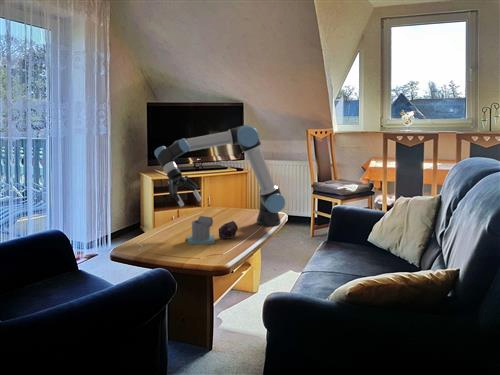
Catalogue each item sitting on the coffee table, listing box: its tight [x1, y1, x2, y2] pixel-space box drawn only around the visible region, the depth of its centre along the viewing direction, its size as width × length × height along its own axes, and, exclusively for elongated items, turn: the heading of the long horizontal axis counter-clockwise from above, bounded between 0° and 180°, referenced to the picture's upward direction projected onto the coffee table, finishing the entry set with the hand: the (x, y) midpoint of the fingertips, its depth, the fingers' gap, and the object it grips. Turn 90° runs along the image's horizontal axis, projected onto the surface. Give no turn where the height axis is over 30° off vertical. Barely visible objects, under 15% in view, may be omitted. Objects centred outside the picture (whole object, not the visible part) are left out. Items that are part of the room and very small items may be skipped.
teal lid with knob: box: [187, 234, 215, 245], centre depth 237 cm, size 14×12×6 cm
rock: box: [218, 220, 239, 240], centre depth 244 cm, size 12×9×10 cm
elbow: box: [191, 215, 214, 241], centre depth 236 cm, size 11×9×12 cm
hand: (191, 203), depth 242 cm, fingers open, 13 cm apart
